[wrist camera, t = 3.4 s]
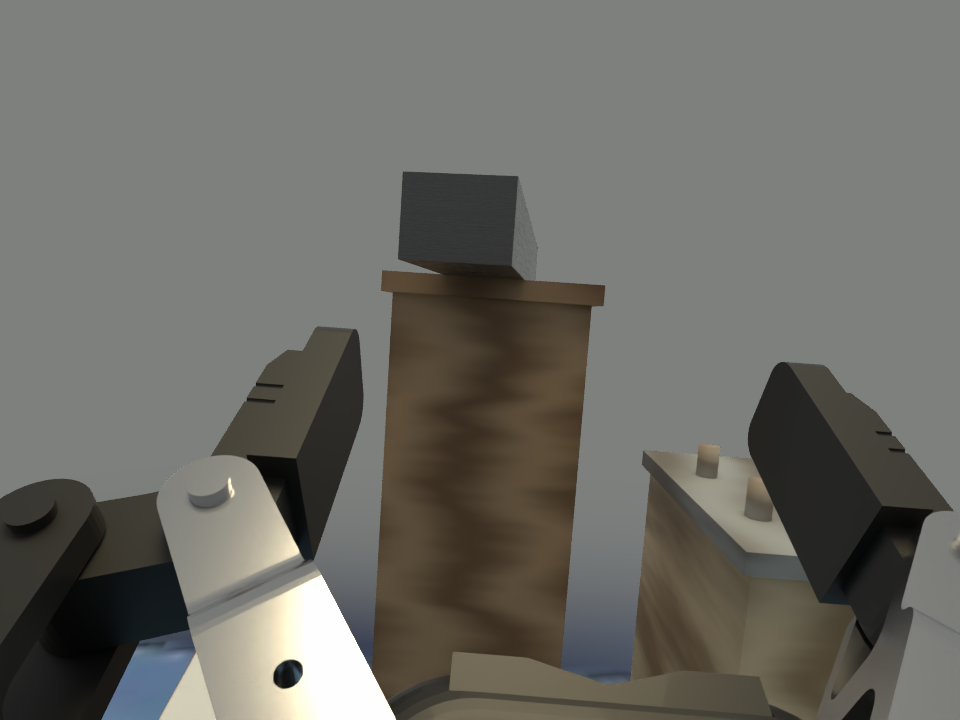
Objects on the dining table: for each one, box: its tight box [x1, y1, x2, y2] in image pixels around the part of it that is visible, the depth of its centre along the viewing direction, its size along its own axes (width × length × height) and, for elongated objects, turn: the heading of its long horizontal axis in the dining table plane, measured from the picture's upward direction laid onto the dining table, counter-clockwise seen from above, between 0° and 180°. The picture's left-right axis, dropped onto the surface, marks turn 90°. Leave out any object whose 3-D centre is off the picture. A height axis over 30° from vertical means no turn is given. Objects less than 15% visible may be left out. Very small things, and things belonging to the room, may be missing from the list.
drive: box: [398, 172, 538, 281], centre depth 31 cm, size 4×22×3 cm, turn 173°
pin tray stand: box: [630, 444, 855, 720], centre depth 33 cm, size 12×17×23 cm
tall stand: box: [372, 271, 605, 701], centre depth 36 cm, size 11×11×32 cm
